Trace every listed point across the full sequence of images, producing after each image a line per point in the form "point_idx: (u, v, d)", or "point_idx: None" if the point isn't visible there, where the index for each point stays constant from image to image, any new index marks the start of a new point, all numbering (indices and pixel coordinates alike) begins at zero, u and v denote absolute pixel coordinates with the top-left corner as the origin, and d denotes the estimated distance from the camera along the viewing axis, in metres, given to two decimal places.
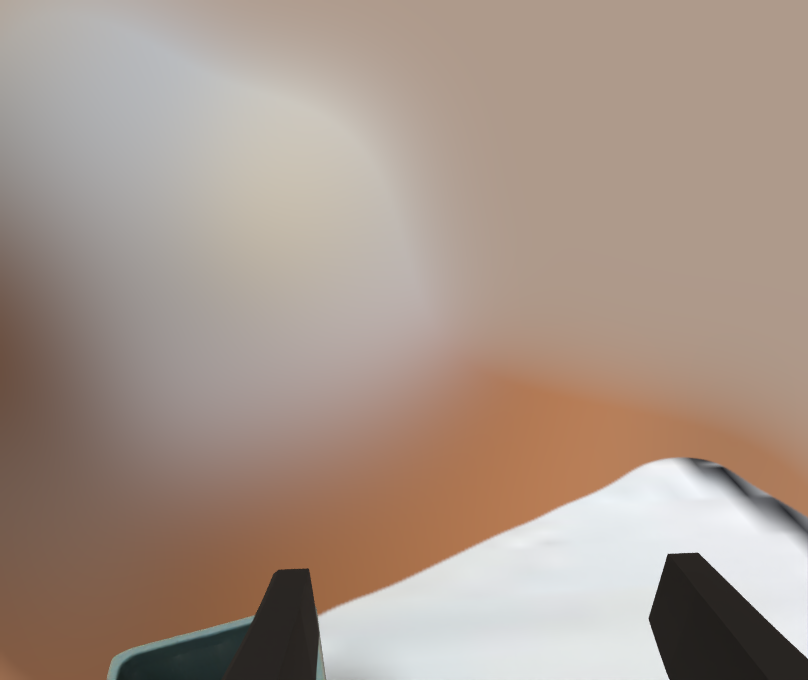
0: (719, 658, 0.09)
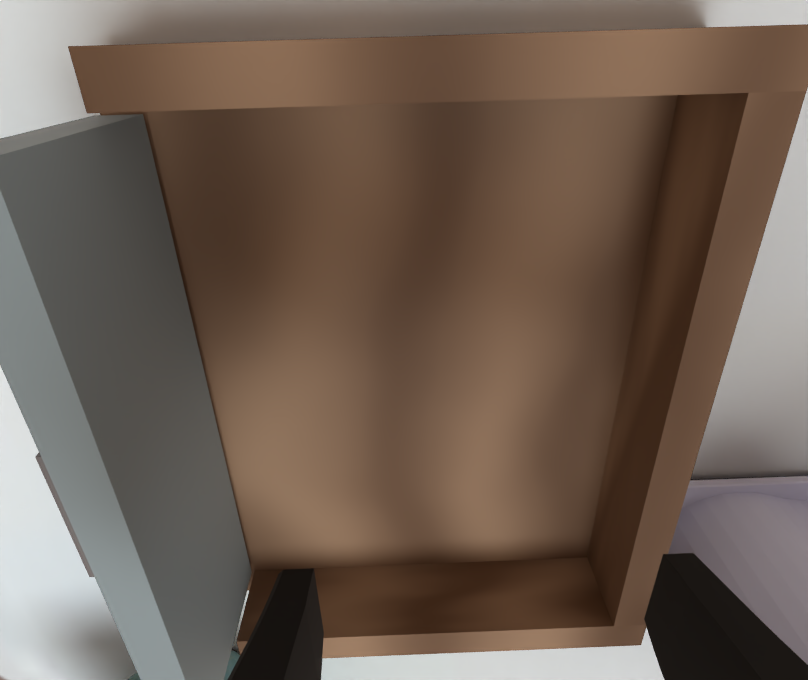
0: (714, 658, 0.09)
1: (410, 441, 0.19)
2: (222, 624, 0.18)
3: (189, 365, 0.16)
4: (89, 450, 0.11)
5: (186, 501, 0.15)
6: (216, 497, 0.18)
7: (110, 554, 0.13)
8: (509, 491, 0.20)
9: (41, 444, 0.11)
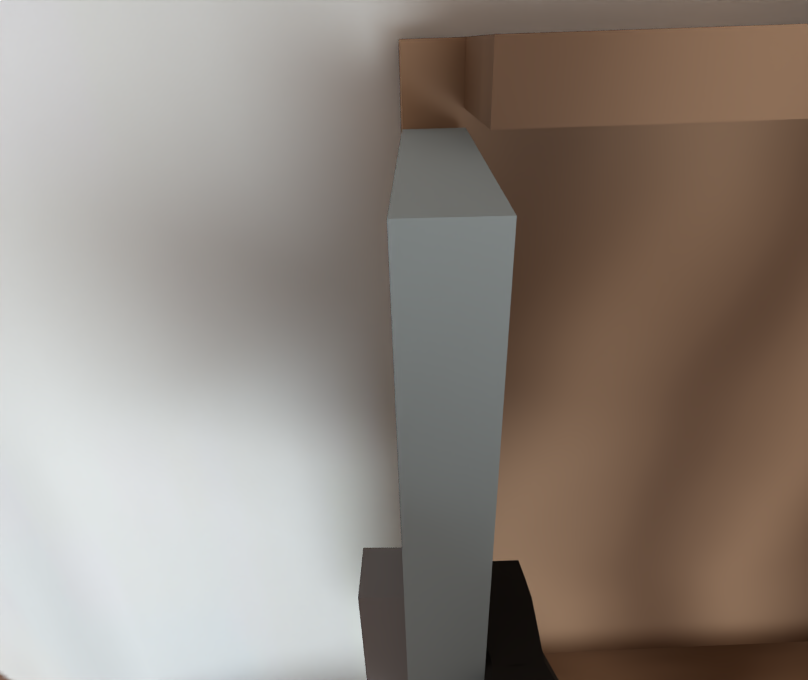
0: None
1: (676, 516, 0.16)
2: None
3: None
4: (474, 611, 0.08)
5: None
6: None
7: None
8: (775, 570, 0.17)
9: (411, 604, 0.08)
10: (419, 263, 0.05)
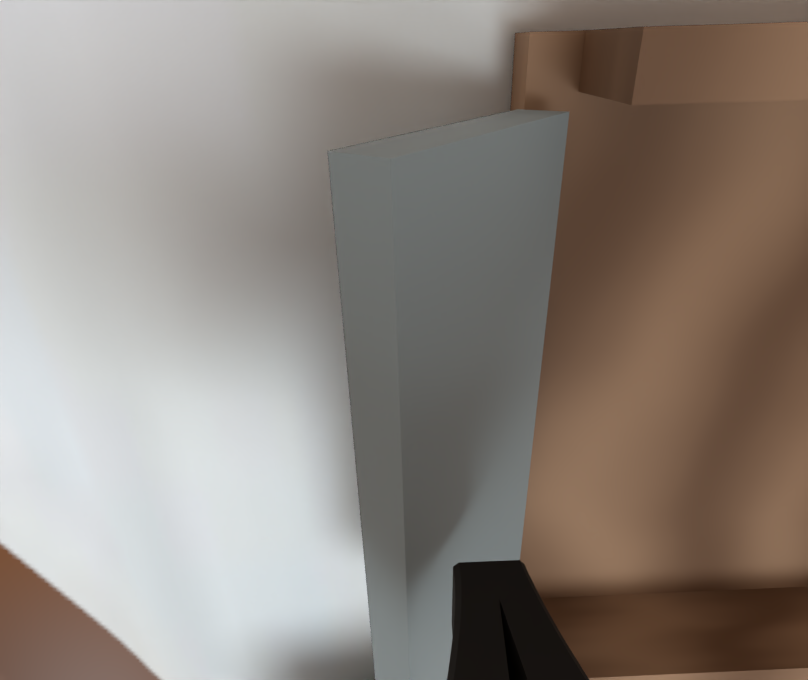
0: (511, 667, 0.09)
1: (732, 463, 0.18)
2: None
3: (523, 397, 0.14)
4: (394, 473, 0.10)
5: (471, 539, 0.14)
6: (503, 539, 0.16)
7: (383, 570, 0.12)
8: None
9: (358, 447, 0.11)
10: (344, 183, 0.08)
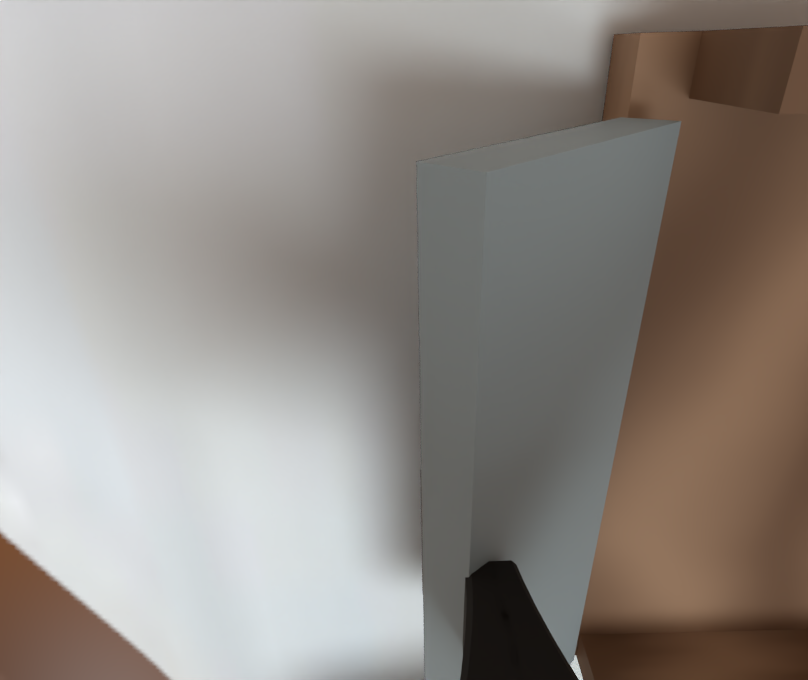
0: None
1: None
2: None
3: (604, 429, 0.13)
4: (463, 507, 0.10)
5: (538, 577, 0.13)
6: (571, 577, 0.15)
7: (443, 605, 0.11)
8: None
9: (425, 474, 0.10)
10: (432, 197, 0.07)
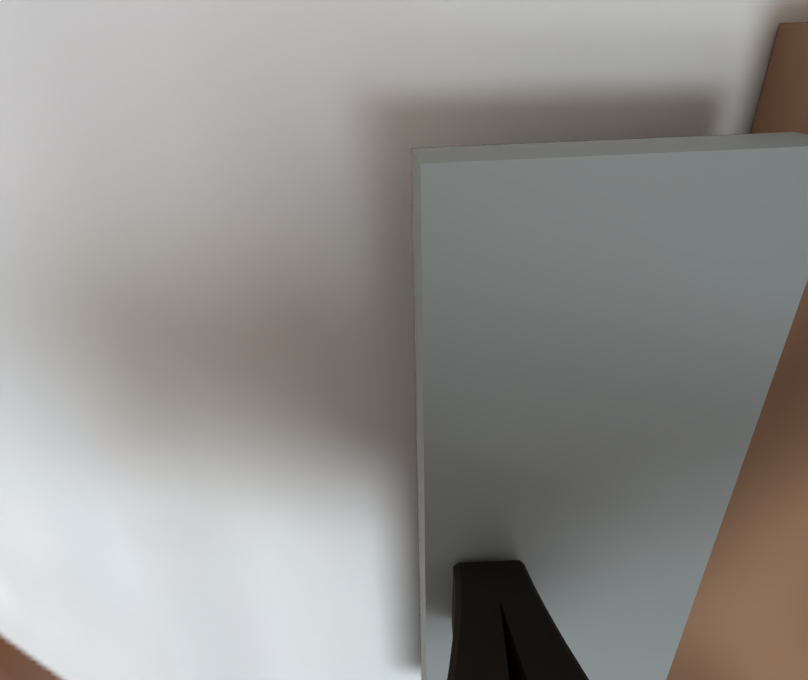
0: (511, 667, 0.09)
1: None
2: None
3: (682, 510, 0.11)
4: (424, 484, 0.10)
5: None
6: (619, 659, 0.13)
7: (421, 575, 0.12)
8: None
9: (417, 444, 0.11)
10: (413, 183, 0.08)
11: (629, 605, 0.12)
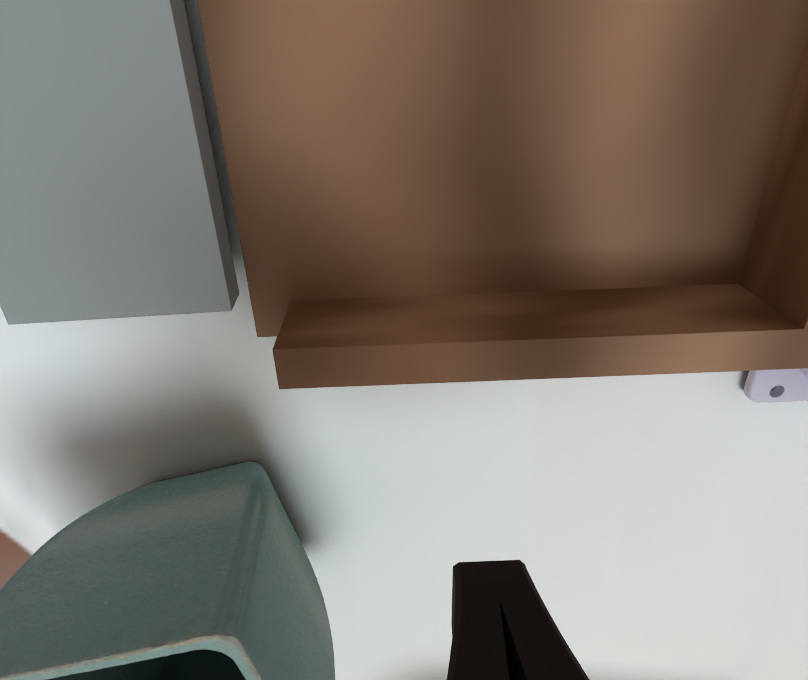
0: (511, 667, 0.09)
1: (520, 56, 0.13)
2: (93, 264, 0.14)
3: None
4: None
5: (14, 18, 0.12)
6: (129, 103, 0.13)
7: None
8: (648, 158, 0.15)
9: None
10: None
11: (97, 1, 0.12)
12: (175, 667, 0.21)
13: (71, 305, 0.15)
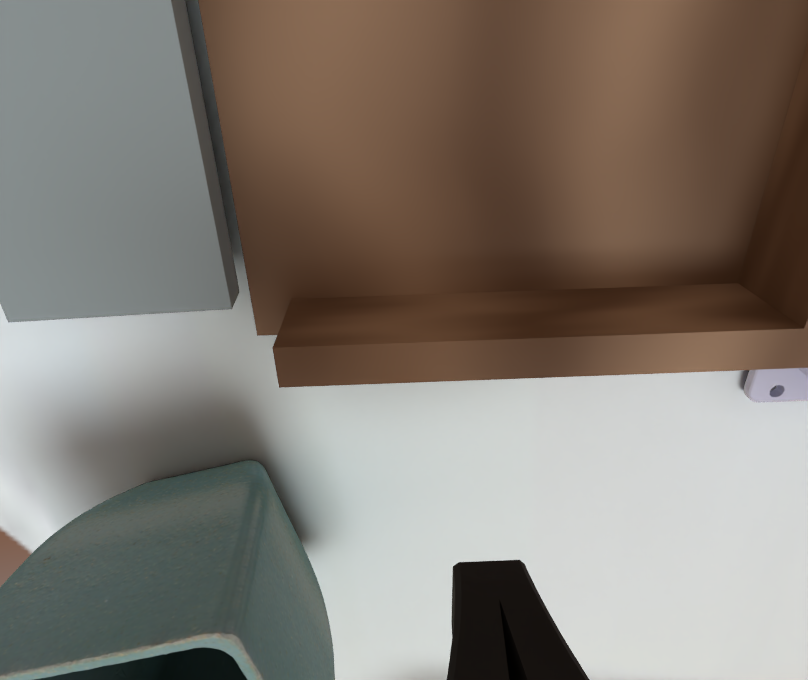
0: (511, 667, 0.09)
1: (521, 55, 0.13)
2: (93, 262, 0.14)
3: None
4: None
5: (14, 15, 0.12)
6: (129, 101, 0.13)
7: None
8: (649, 157, 0.15)
9: None
10: None
11: None
12: (174, 666, 0.21)
13: (71, 303, 0.15)
